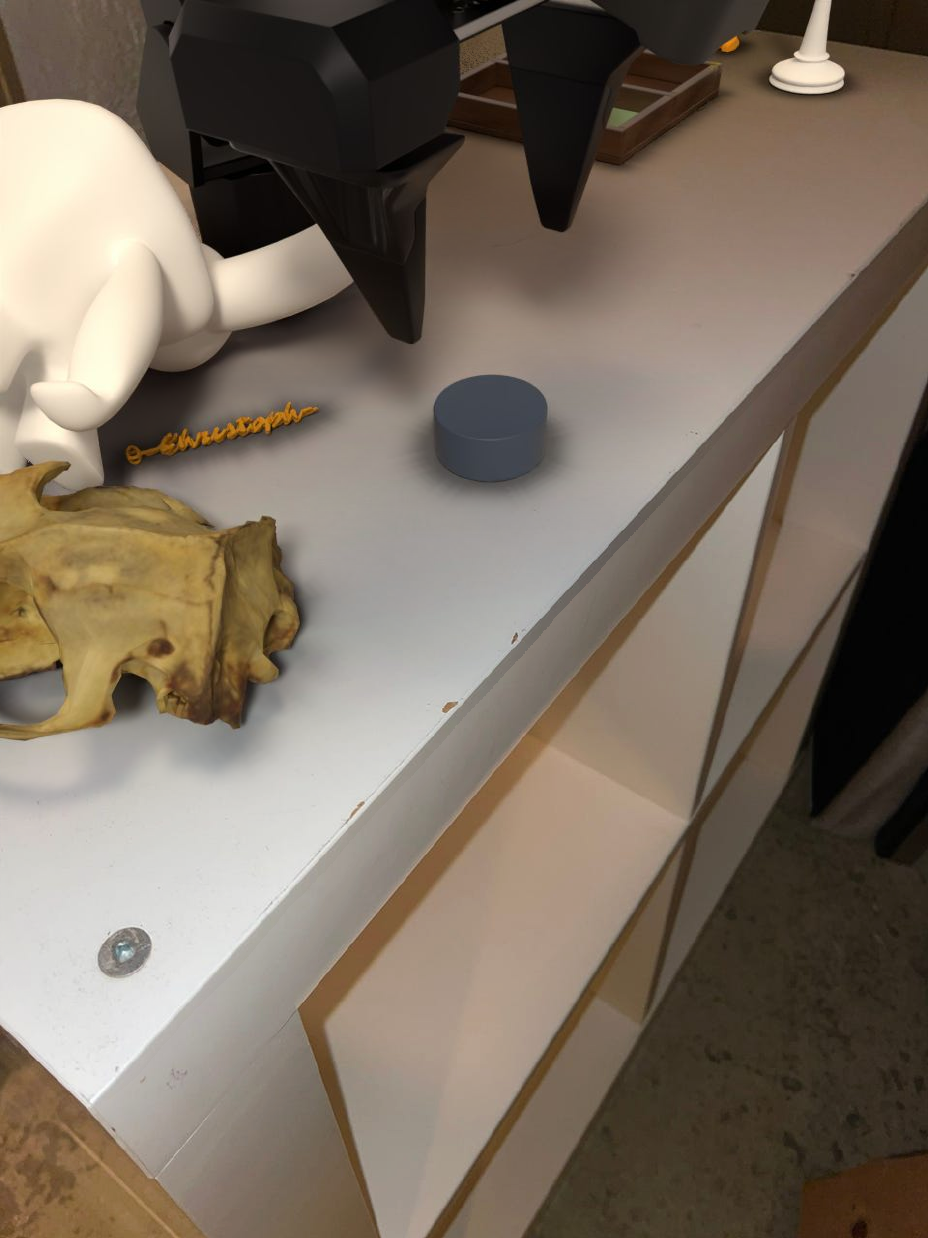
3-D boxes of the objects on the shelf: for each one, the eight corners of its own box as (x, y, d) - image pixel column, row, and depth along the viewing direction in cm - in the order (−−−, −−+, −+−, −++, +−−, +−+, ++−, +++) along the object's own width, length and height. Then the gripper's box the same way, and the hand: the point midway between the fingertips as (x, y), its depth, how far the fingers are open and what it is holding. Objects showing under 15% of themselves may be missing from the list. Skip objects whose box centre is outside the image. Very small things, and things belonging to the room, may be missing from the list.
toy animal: (309, 557, 35) (436, 220, 41) (70, 308, 25) (288, -83, 31) (-50, 542, 43) (102, 267, 50) (-332, 355, 34) (-96, 44, 40)
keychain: (131, 472, 38) (123, 448, 37) (129, 462, 38) (121, 439, 38) (322, 422, 39) (317, 399, 39) (316, 415, 40) (311, 392, 40)
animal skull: (-118, 642, 35) (-232, 490, 30) (296, 536, 36) (243, 376, 32) (-205, 876, 27) (-375, 717, 23) (328, 731, 28) (264, 553, 24)
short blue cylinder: (506, 496, 36) (506, 453, 35) (413, 457, 38) (410, 415, 36) (566, 437, 38) (569, 395, 37) (476, 403, 40) (475, 362, 39)
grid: (619, 165, 57) (622, 131, 55) (432, 121, 62) (431, 89, 61) (718, 94, 64) (723, 62, 63) (544, 60, 70) (545, 31, 69)
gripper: (575, -351, 13) (539, 511, 25) (965, -391, 23) (812, 232, 35) (58, -345, 18) (230, 380, 29) (573, -381, 28) (551, 167, 39)
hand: (486, 279), depth 33 cm, fingers open, 9 cm apart
